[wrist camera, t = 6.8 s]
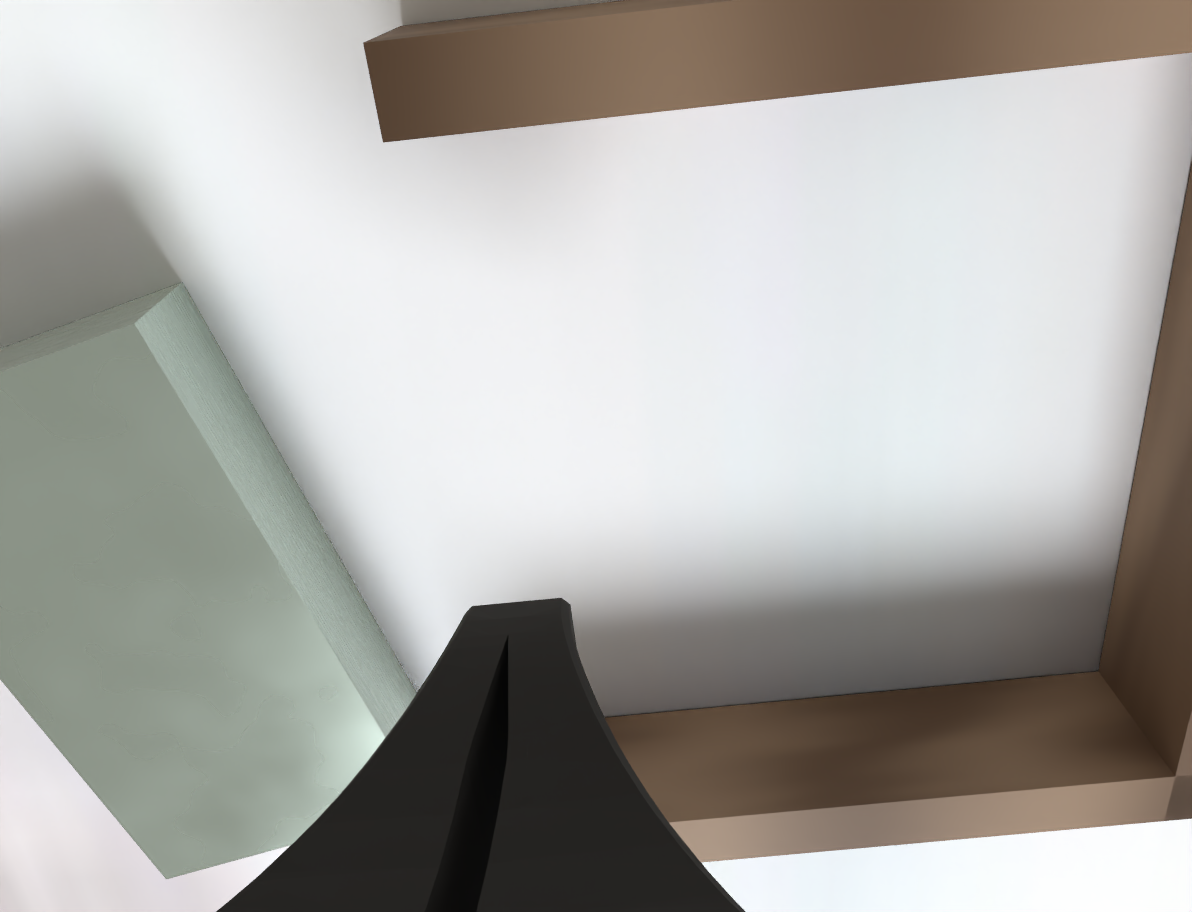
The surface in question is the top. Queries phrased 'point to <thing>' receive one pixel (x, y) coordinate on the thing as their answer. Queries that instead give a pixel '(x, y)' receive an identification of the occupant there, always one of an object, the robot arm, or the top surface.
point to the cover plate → (177, 592)
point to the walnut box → (902, 717)
